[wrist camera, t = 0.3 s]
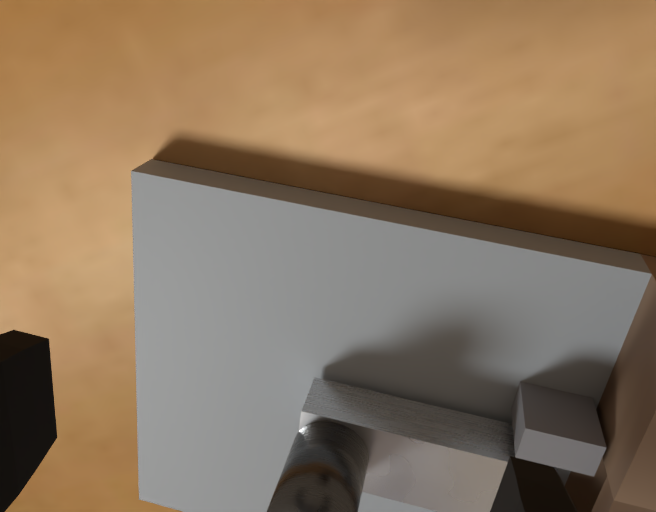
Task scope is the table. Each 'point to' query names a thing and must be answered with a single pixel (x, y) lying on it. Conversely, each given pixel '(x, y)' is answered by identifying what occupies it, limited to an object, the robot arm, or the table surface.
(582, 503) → the block
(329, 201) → the door panel
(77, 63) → the table surface
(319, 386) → the bolt
